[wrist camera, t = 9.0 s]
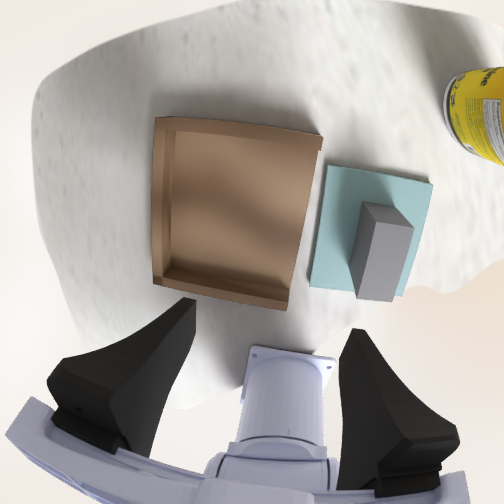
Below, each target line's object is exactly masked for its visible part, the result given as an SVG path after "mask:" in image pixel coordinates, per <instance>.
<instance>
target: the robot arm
mask: <svg viewBox="0 0 504 504" xmlns="http://www.w3.org/2000/svg"><path fill="white" fill-rule="evenodd" d="M195 333H196V300H194V299H190V298H185V297H183V298H182V299H180V300H179V301H178V302H177V303H176V304H174V305H173V306H172V307H171V308H169V309H168V310H167V311H166V312H164V313H163V314H162V315H160V316H159V317H158V318H156V319H155V320H154V321H152V322H151V323H149V324H148V325H146V326H145V327H143V328H142V329H140V330H139V331H137V332H135V333H134V334H132V335H130V336H128V337H126V338H125V339H123V340H121V341H118V342H116V343H114V344H111V345H109V346H107V347H104V348H101V349H98V350H96V351H92V352H89V353H86V354H82V355H77V356H73V357H68V358H63V359H62V360H61V362H60V363H59V364H58V365H57V366H56V368H55V369H54V370H53V372H52V373H51V375H50V376H49V377H48V379H47V386H48V389H49V391H50V393H51V394H52V396H53V397H54V399H55V401H56V403H57V405H58V406H59V407H58V409H57V410H56V411H54V410H53V409H52V408H51V407H49V406H48V405H46V404H44V403H43V402H41V401H39V400H38V399H36V398H34V397H30V398H29V400H28V401H27V403H26V404H25V406H24V407H23V408H22V410H21V411H20V413H19V414H18V416H17V417H16V418H15V420H14V421H13V423H12V425H11V426H10V427H9V429H8V430H7V432H6V434H5V435H6V437H7V438H8V439H9V440H10V441H11V442H12V443H13V444H14V445H15V446H16V447H17V448H18V449H19V450H20V451H21V452H22V453H23V454H24V455H25V456H26V457H27V458H28V459H29V460H30V461H32V462H33V463H35V464H36V465H38V466H39V467H41V468H42V469H44V470H45V471H47V472H48V473H50V474H51V475H53V476H55V477H56V478H58V479H59V480H61V481H63V482H65V483H66V484H68V485H70V486H71V487H73V488H74V489H77V490H78V491H80V492H82V493H83V494H85V495H87V496H89V497H91V498H93V499H95V500H97V501H99V502H100V503H103V504H470V498H469V492H468V487H467V482H466V477H465V472H464V471H458V472H454V473H449V474H445V475H442V476H440V477H439V471H440V470H442V465H441V462H442V461H444V460H445V459H446V458H447V457H448V456H450V455H451V454H452V453H453V452H454V451H455V450H456V449H457V448H458V446H459V444H460V439H459V435H458V432H457V428H456V426H455V425H454V424H452V423H451V422H449V421H448V420H446V419H444V418H443V417H441V416H440V415H438V414H437V413H435V412H434V411H433V410H431V409H430V408H429V407H428V406H426V405H425V404H424V403H423V402H422V401H421V400H420V399H418V398H417V397H416V396H415V395H414V394H413V393H412V392H411V391H410V390H409V389H408V388H407V387H406V386H405V385H404V383H403V382H402V381H401V380H400V379H399V378H398V376H397V375H396V374H395V373H394V371H393V370H392V369H391V367H390V366H389V365H388V363H387V362H386V361H385V359H384V358H383V356H382V355H381V353H380V352H379V350H378V349H377V347H376V346H375V344H374V343H373V341H372V340H371V338H370V337H369V336H368V334H367V332H366V331H365V330H363V329H355V328H353V329H352V331H351V333H350V335H349V338H348V340H347V342H346V345H345V347H344V349H343V351H342V353H341V356H340V358H339V386H340V396H341V406H342V417H343V431H342V448H341V459H340V463H339V462H338V461H337V460H336V458H333V457H328V458H327V447H326V446H323V390H324V388H325V386H326V384H327V382H328V380H329V378H330V375H331V374H332V372H333V370H334V367H335V365H336V359H334V358H330V357H323V356H316V355H309V354H302V353H295V352H289V351H283V350H277V349H272V348H266V347H260V346H252V347H251V348H250V353H249V358H248V364H247V369H246V374H245V380H244V385H243V390H242V395H241V401H240V403H241V404H242V405H243V409H242V413H241V418H240V423H239V428H238V432H237V437H236V441H235V442H229V446H228V450H227V453H226V452H219V453H218V454H216V455H215V456H214V457H213V458H212V459H211V460H210V461H209V462H208V464H207V466H206V468H205V471H204V474H200V473H195V472H192V471H188V470H185V469H181V468H177V467H174V466H170V465H167V464H164V463H161V462H158V461H155V460H152V459H149V456H150V452H151V448H152V444H153V441H154V437H155V434H156V430H157V427H158V424H159V421H160V417H161V414H162V412H163V408H164V406H165V403H166V400H167V397H168V394H169V392H170V390H171V387H172V385H173V383H174V381H175V379H176V377H177V375H178V373H179V371H180V369H181V367H182V365H183V363H184V361H185V359H186V357H187V355H188V353H189V351H190V348H191V345H192V342H193V339H194V336H195ZM254 354H256V355H254Z"/></svg>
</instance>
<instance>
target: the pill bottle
mask: <svg viewBox="0 0 504 504" xmlns="http://www.w3.org/2000/svg"><path fill="white" fill-rule="evenodd" d="M443 109H444V116H445V121H446V124H447V127H448V129H449V131H450V133H451V135H452V137H453V138H454V140H455V141H456V142H457V143H458V144H459V145H460V146H461V147H462V148H463V149H465V150H466V151H468V152H470V153H472V154H474V155H477V156H479V157H482V158H484V159H487V160H490V161H493V162H495V163H498V164H500V165H503V166H504V67H496V68H488V69H480V70H473V71H467V72H463V73H460V74H458V75H457V76H455V77H454V78H453V79H452V80H451V81H450V82H449V84H448V86H447V88H446V91H445V94H444V100H443Z"/></svg>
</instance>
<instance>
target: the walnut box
mask: <svg viewBox="0 0 504 504" xmlns="http://www.w3.org/2000/svg"><path fill="white" fill-rule="evenodd" d="M322 141H323V137H322V136H321V135H318V134H313V133H308V132H303V131H297V130H291V129H285V128H279V127H273V126H266V125H259V124H252V123H244V122H235V121H226V120H216V119H204V118H190V117H173V116H167V117H155V127H154V142H153V160H152V191H151V240H152V271H153V284H156V285H160V286H164V287H169V288H173V289H177V290H182V291H186V292H191V293H196V294H200V295H205V296H210V297H214V298H219V299H224V300H229V301H234V302H239V303H244V304H249V305H255V306H260V307H265V308H271V309H276V310H282V311H286V310H287V306H288V300H289V289H290V284H291V280H292V276H293V271H294V267H295V263H296V258H297V254H298V249H299V245H300V240H301V235H302V231H303V226H304V221H305V216H306V211H307V206H308V202H309V197H310V191H311V186H312V181H313V176H314V171H315V165H316V160H317V155H318V150H320V151H321V147H322Z"/></svg>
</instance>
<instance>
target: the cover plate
mask: <svg viewBox="0 0 504 504" xmlns="http://www.w3.org/2000/svg"><path fill="white" fill-rule="evenodd" d="M432 189H433V185H432V184H431V183H427V182H423V181H418V180H414V179H409V178H404V177H399V176H394V175H389V174H384V173H379V172H373V171H367V170H361V169H355V168H349V167H343V166H336V165H329V164H327V171H326V179H325V187H324V194H323V201H322V208H321V215H320V222H319V228H318V234H317V241H316V247H315V253H314V259H313V264H312V270H311V276H310V281H309V287H317V288H326V289H335V290H344V291H353V292H355V294H356V298H357V299H364V300H375V301H385V302H392V301H393V298H394V296H402V295H403V292H404V289H405V286H406V283H407V280H408V277H409V274H410V271H411V268H412V265H413V262H414V259H415V255H416V252H417V249H418V245H419V242H420V238H421V235H422V231H423V227H424V223H425V219H426V215H427V211H428V207H429V203H430V198H431V194H432Z"/></svg>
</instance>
